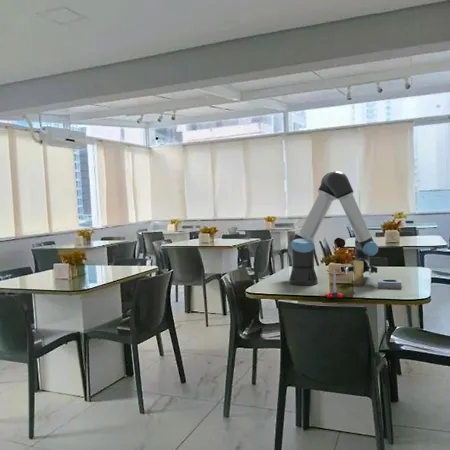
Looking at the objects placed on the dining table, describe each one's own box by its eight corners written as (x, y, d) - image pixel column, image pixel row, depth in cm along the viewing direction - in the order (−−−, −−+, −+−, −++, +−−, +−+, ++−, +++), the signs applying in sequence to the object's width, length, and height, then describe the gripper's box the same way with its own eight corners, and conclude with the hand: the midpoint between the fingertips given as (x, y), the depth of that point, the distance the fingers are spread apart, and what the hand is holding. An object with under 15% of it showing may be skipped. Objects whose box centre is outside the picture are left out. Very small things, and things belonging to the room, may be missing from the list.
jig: (377, 288, 239) (377, 282, 239) (378, 284, 248) (378, 278, 248) (401, 288, 235) (401, 282, 235) (401, 285, 245) (401, 279, 245)
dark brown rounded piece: (326, 268, 307) (325, 237, 306) (349, 268, 306) (349, 236, 305) (330, 272, 292) (329, 239, 291) (354, 271, 291) (354, 238, 290)
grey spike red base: (324, 295, 229) (325, 298, 220) (324, 268, 229) (325, 270, 220) (342, 295, 228) (344, 298, 219) (342, 268, 228) (344, 270, 218)
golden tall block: (353, 286, 245) (352, 261, 244) (354, 284, 249) (353, 260, 248) (363, 287, 243) (363, 261, 242) (364, 285, 248) (363, 260, 247)
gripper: (383, 273, 259) (382, 280, 238) (339, 272, 267) (334, 278, 246) (383, 259, 258) (382, 265, 238) (339, 258, 266) (334, 264, 246)
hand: (357, 272), depth 242 cm, fingers open, 11 cm apart
